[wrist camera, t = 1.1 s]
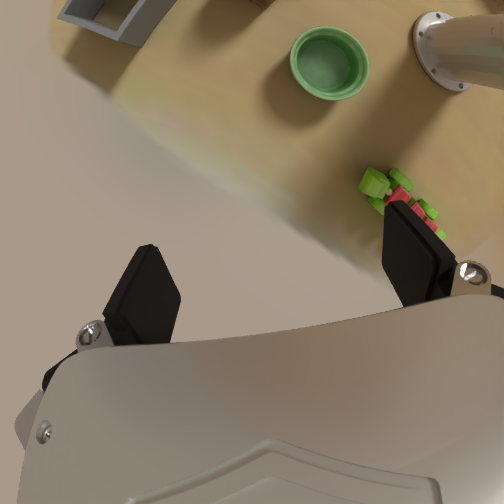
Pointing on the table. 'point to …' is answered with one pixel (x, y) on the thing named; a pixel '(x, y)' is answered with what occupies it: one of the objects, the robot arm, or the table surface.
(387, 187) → the toy crocodile
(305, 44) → the ramekin
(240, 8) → the table surface
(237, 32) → the table surface
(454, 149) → the table surface
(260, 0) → the brown open box
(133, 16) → the grey hollow box
